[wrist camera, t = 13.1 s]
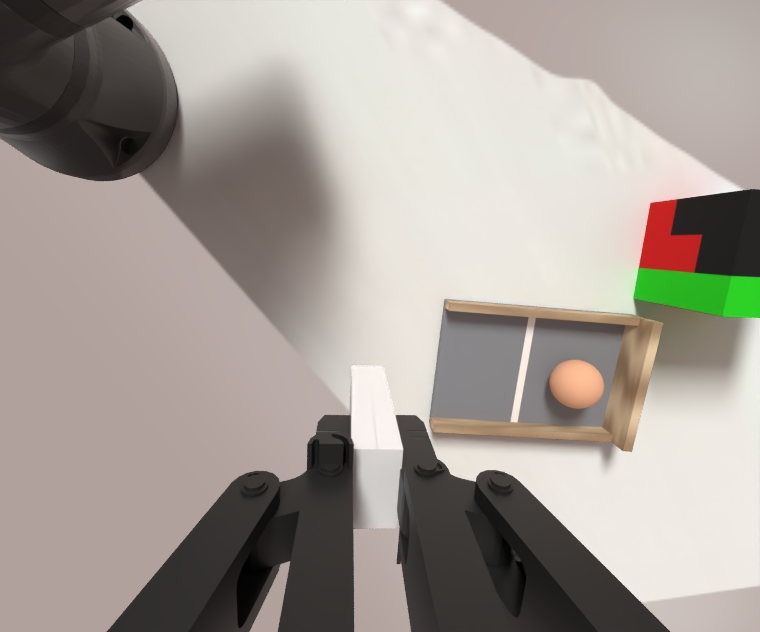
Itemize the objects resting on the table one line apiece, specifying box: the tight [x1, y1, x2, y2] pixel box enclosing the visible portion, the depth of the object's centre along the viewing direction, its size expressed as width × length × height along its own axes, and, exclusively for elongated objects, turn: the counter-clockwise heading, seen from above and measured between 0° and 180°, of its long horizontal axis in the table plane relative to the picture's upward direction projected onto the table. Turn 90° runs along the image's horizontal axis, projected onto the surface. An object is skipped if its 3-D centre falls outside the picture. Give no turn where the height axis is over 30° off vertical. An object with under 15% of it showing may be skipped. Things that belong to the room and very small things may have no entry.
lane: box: [429, 299, 636, 427], centre depth 40 cm, size 14×21×1 cm, turn 85°
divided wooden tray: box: [430, 300, 663, 452], centre depth 38 cm, size 14×21×4 cm, turn 85°
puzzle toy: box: [633, 189, 760, 318], centre depth 34 cm, size 10×10×10 cm
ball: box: [549, 360, 604, 409], centre depth 38 cm, size 5×5×5 cm
